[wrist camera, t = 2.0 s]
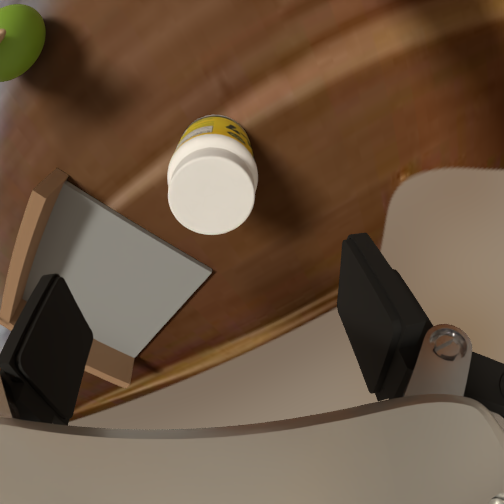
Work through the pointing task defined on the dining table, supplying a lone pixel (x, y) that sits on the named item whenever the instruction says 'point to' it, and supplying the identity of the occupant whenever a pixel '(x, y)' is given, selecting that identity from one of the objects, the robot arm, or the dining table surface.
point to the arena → (99, 272)
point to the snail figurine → (19, 39)
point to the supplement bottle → (212, 176)
